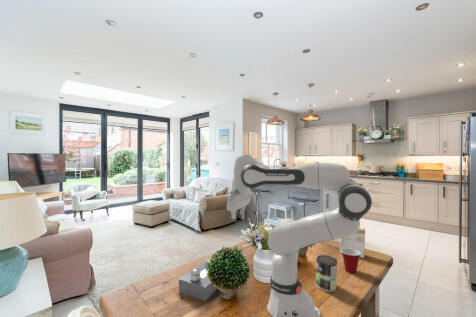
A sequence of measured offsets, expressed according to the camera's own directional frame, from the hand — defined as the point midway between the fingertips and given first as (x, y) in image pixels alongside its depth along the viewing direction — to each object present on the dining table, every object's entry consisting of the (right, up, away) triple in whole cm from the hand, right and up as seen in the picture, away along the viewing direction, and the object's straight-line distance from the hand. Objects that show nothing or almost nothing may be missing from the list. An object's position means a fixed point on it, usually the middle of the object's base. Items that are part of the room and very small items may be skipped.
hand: (237, 216), depth 107 cm
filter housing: (-18, -38, +8) cm, 43 cm away
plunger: (-21, -34, +2) cm, 40 cm away
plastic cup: (+67, -40, +25) cm, 82 cm away
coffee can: (+47, -40, +9) cm, 62 cm away
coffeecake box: (+80, -39, +48) cm, 101 cm away
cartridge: (-17, -37, +10) cm, 42 cm away
